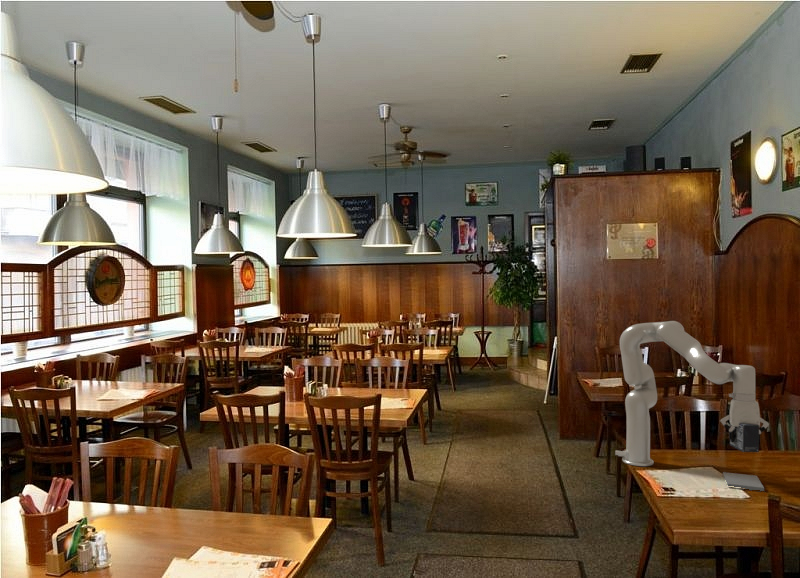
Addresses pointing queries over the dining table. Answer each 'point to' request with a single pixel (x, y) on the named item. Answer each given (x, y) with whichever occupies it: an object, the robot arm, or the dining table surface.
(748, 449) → the small box
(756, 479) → the slate board
